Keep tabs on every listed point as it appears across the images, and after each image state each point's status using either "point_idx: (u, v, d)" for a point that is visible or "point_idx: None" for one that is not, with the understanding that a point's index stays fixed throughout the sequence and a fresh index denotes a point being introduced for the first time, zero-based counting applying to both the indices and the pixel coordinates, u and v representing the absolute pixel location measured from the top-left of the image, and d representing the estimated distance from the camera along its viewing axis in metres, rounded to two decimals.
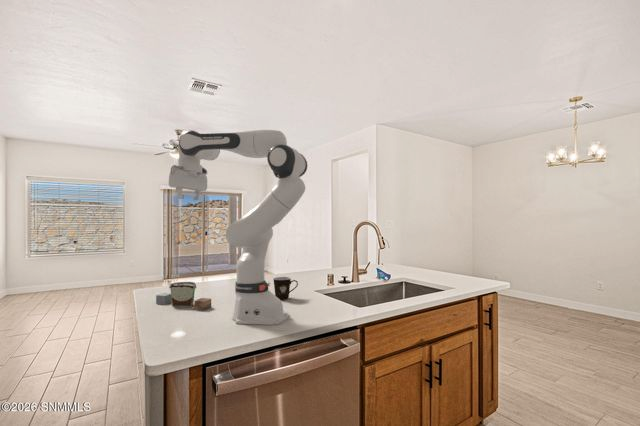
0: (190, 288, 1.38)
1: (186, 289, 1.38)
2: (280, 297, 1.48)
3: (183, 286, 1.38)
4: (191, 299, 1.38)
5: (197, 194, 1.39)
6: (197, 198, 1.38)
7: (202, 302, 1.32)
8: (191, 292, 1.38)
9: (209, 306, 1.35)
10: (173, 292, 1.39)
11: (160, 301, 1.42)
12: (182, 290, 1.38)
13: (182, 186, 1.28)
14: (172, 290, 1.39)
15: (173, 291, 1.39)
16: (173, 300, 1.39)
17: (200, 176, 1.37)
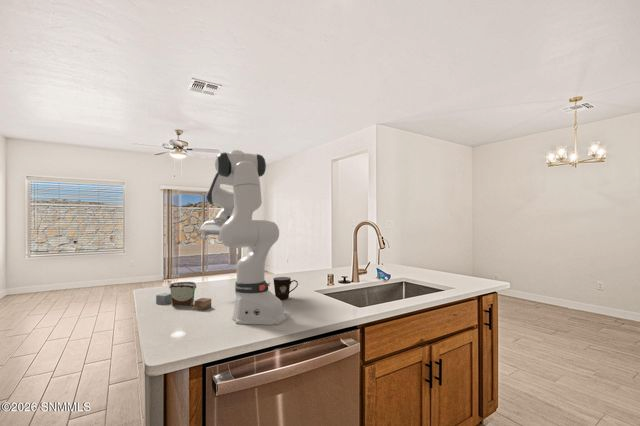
0: (190, 288, 1.38)
1: (186, 289, 1.38)
2: (280, 297, 1.48)
3: (183, 286, 1.38)
4: (191, 299, 1.38)
5: None
6: (219, 238, 1.59)
7: (202, 302, 1.32)
8: (191, 292, 1.38)
9: (209, 306, 1.35)
10: (173, 292, 1.39)
11: (160, 301, 1.42)
12: (182, 290, 1.38)
13: (205, 230, 1.64)
14: (172, 290, 1.39)
15: (173, 291, 1.39)
16: (173, 300, 1.39)
17: (225, 221, 1.65)
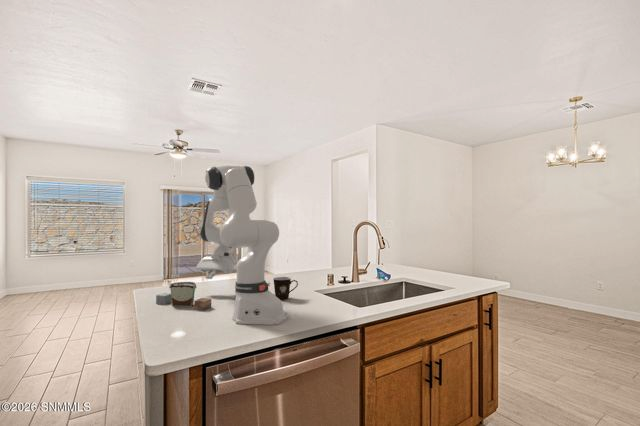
0: (190, 288, 1.38)
1: (186, 289, 1.38)
2: (280, 297, 1.48)
3: (183, 286, 1.38)
4: (191, 299, 1.38)
5: None
6: (209, 276, 1.57)
7: (202, 302, 1.32)
8: (191, 292, 1.38)
9: (209, 306, 1.35)
10: (173, 292, 1.39)
11: (160, 301, 1.42)
12: (182, 290, 1.38)
13: (201, 267, 1.61)
14: (172, 290, 1.39)
15: (173, 291, 1.39)
16: (173, 300, 1.39)
17: (222, 258, 1.61)
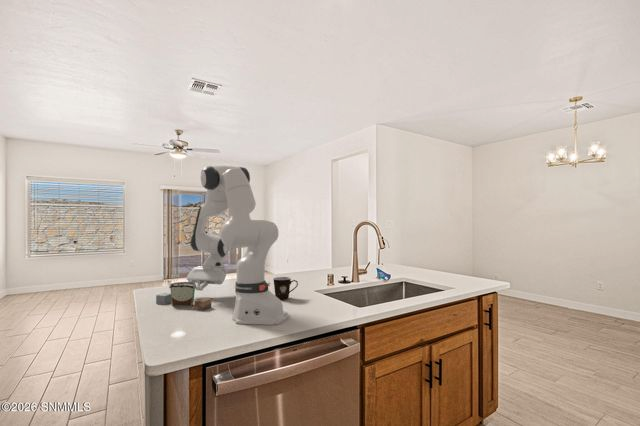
0: (190, 288, 1.38)
1: (186, 289, 1.38)
2: (280, 297, 1.48)
3: (183, 286, 1.38)
4: (191, 299, 1.38)
5: None
6: (199, 287, 1.50)
7: (202, 302, 1.32)
8: (191, 292, 1.38)
9: (209, 306, 1.35)
10: (173, 292, 1.39)
11: (160, 301, 1.42)
12: (182, 290, 1.38)
13: (192, 278, 1.54)
14: (172, 290, 1.39)
15: (173, 291, 1.39)
16: (173, 300, 1.39)
17: (214, 269, 1.54)
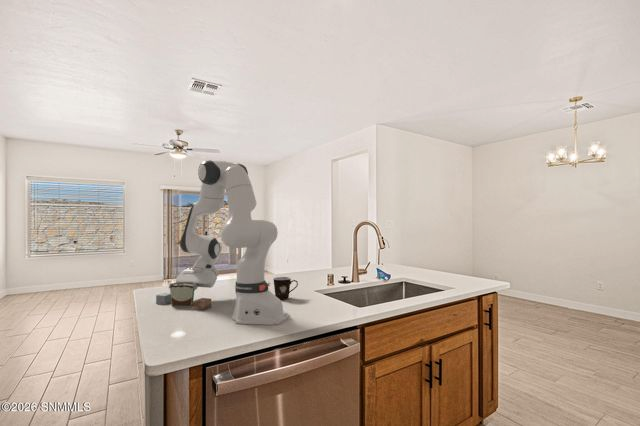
0: (190, 288, 1.38)
1: (186, 289, 1.38)
2: (280, 297, 1.48)
3: (183, 286, 1.38)
4: (191, 299, 1.38)
5: None
6: None
7: (202, 302, 1.32)
8: (191, 292, 1.38)
9: (209, 306, 1.35)
10: (172, 292, 1.39)
11: (160, 301, 1.42)
12: (182, 290, 1.38)
13: (181, 281, 1.47)
14: (172, 290, 1.39)
15: (173, 291, 1.39)
16: (173, 300, 1.38)
17: (204, 271, 1.47)
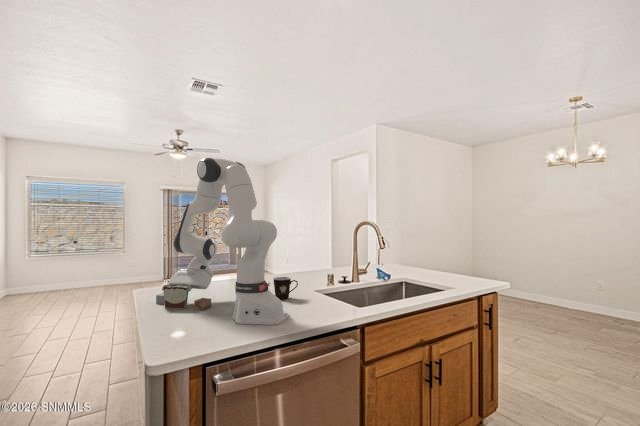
0: (183, 290, 1.34)
1: (179, 291, 1.34)
2: (280, 297, 1.48)
3: (176, 288, 1.34)
4: (184, 301, 1.34)
5: None
6: None
7: (202, 302, 1.32)
8: (184, 294, 1.34)
9: (209, 306, 1.35)
10: (166, 294, 1.35)
11: (160, 301, 1.42)
12: (175, 292, 1.34)
13: (175, 282, 1.43)
14: (165, 292, 1.35)
15: (166, 293, 1.35)
16: (166, 302, 1.35)
17: (198, 272, 1.43)
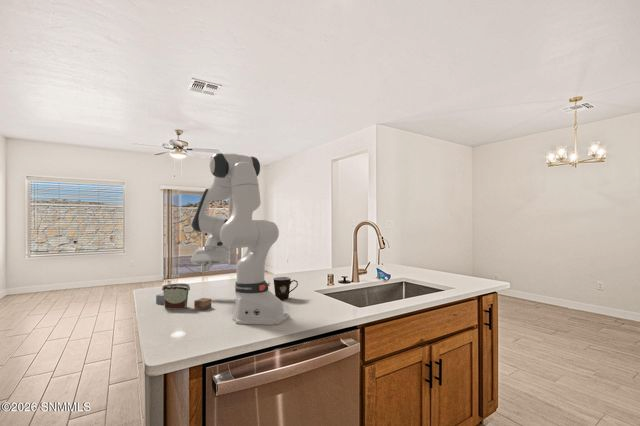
0: (183, 290, 1.34)
1: (179, 291, 1.34)
2: (280, 297, 1.48)
3: (176, 288, 1.35)
4: (184, 301, 1.34)
5: None
6: (206, 268, 1.53)
7: (202, 302, 1.32)
8: (184, 294, 1.34)
9: (209, 306, 1.35)
10: (166, 294, 1.35)
11: (160, 301, 1.42)
12: (175, 292, 1.34)
13: (196, 260, 1.56)
14: (165, 292, 1.35)
15: (166, 293, 1.35)
16: (166, 302, 1.35)
17: (216, 249, 1.57)
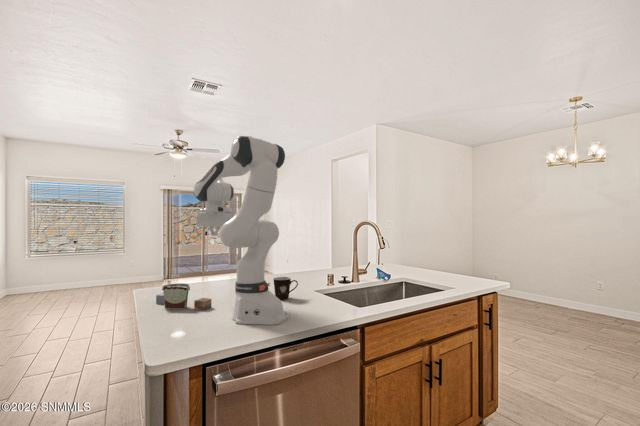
0: (183, 290, 1.34)
1: (179, 291, 1.34)
2: (280, 297, 1.48)
3: (176, 288, 1.35)
4: (184, 301, 1.34)
5: None
6: (214, 234, 1.56)
7: (202, 302, 1.32)
8: (184, 294, 1.34)
9: (209, 306, 1.35)
10: (166, 294, 1.35)
11: (160, 301, 1.42)
12: (175, 292, 1.34)
13: (202, 225, 1.57)
14: (165, 292, 1.35)
15: (166, 293, 1.35)
16: (166, 302, 1.35)
17: (218, 214, 1.54)
